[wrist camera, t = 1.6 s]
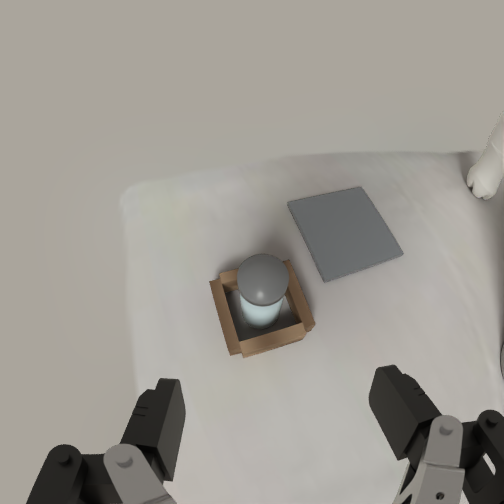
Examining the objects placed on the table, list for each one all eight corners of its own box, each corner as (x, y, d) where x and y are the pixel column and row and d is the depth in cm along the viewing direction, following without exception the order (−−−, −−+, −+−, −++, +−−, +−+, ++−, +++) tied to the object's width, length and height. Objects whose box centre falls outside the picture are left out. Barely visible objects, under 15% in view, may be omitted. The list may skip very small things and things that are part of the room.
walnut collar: (284, 266, 33) (287, 255, 31) (312, 335, 29) (317, 329, 26) (210, 286, 32) (207, 276, 29) (232, 361, 27) (230, 356, 25)
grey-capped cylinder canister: (272, 288, 32) (278, 248, 24) (285, 323, 29) (296, 292, 22) (236, 299, 31) (231, 261, 24) (247, 334, 29) (245, 307, 22)
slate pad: (360, 189, 40) (361, 186, 39) (401, 255, 34) (403, 253, 33) (287, 205, 38) (287, 202, 37) (324, 282, 32) (325, 280, 31)
